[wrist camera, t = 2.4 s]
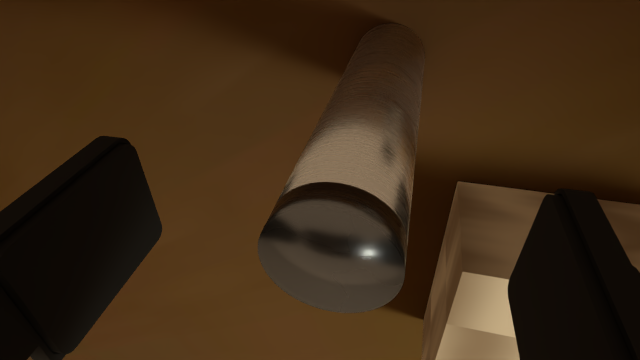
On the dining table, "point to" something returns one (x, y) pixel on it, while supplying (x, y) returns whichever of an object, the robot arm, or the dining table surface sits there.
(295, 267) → the peg
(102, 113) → the dining table surface
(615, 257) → the robot arm
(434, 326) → the square wooden hole block
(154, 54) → the dining table surface
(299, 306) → the dining table surface
